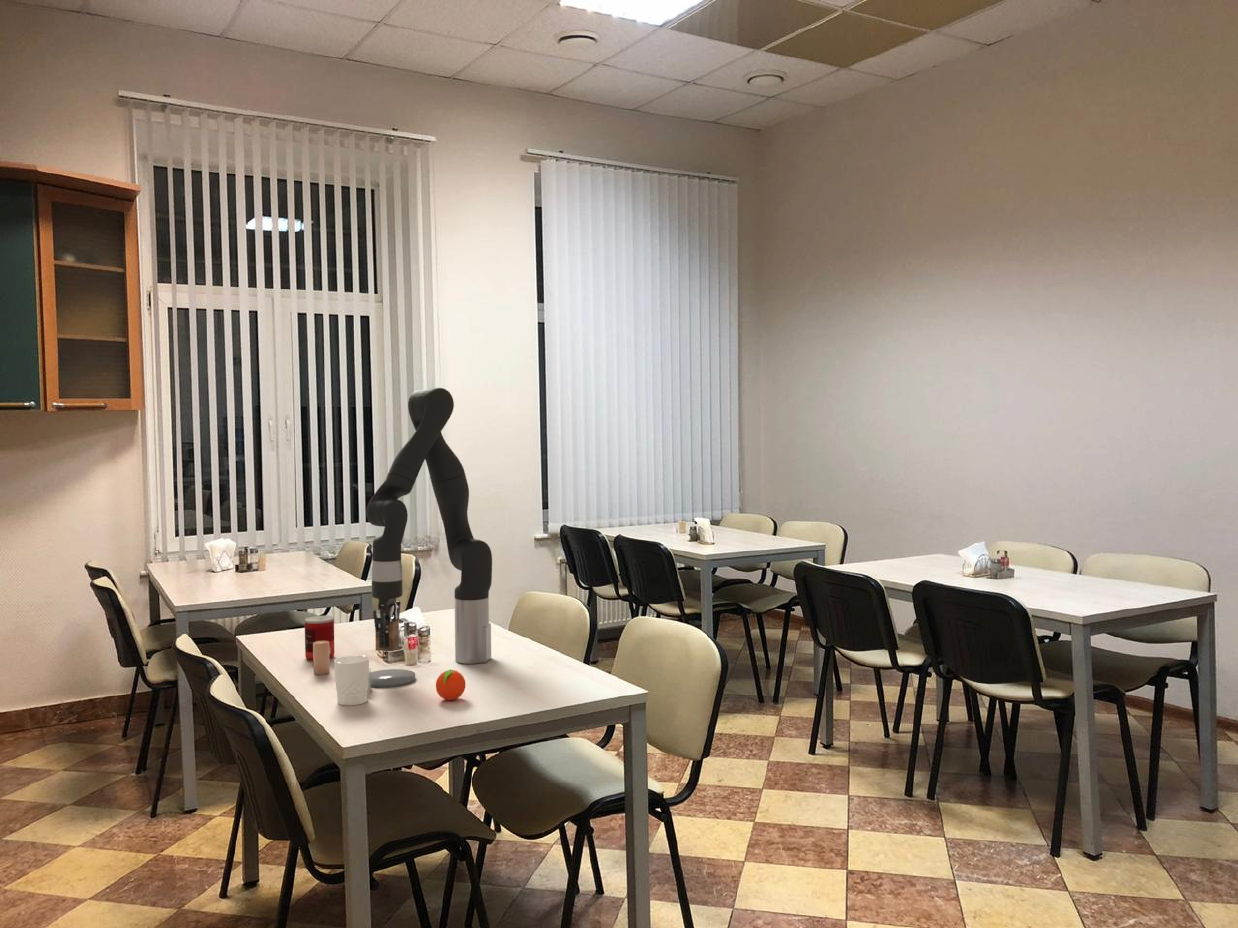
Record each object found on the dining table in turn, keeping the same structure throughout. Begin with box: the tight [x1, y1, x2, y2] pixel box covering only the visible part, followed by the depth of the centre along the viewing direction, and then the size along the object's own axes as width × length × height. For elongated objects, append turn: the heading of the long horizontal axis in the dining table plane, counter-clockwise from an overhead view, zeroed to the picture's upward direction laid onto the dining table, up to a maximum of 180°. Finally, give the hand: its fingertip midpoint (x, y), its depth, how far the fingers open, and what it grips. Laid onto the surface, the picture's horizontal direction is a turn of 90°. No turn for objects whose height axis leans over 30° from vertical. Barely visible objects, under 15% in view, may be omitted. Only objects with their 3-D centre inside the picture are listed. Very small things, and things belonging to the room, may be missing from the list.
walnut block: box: [375, 619, 400, 652], centre depth 244 cm, size 4×4×7 cm
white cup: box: [333, 654, 370, 706], centre depth 226 cm, size 8×8×10 cm
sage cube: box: [368, 667, 372, 695], centre depth 235 cm, size 5×5×5 cm
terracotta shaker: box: [312, 641, 331, 676], centre depth 252 cm, size 4×4×8 cm
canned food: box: [304, 615, 335, 662], centre depth 269 cm, size 8×8×11 cm
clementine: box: [435, 669, 466, 701], centre depth 227 cm, size 8×7×7 cm
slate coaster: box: [371, 668, 416, 688], centre depth 245 cm, size 13×13×1 cm
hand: (387, 645), depth 244 cm, fingers closed on walnut block, 4 cm apart
